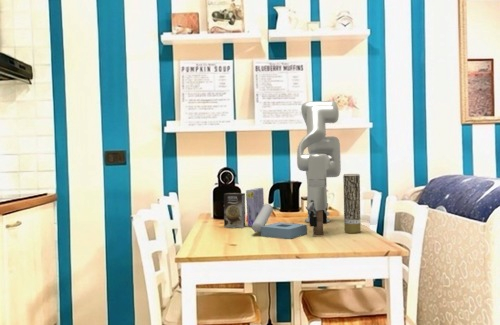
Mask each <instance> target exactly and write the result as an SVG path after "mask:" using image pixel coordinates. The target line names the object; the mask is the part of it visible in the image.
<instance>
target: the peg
mask: <svg viewBox="0 0 500 325" xmlns="http://www.w3.org/2000/svg"><path fill="white" fill-rule="evenodd" d="M313 213H314V212H313ZM316 217H317V227H313V236H324V224H323V210H320V211H317V214H316Z"/></svg>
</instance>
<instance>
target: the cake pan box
mask: <svg viewBox="0 0 500 325" xmlns="http://www.w3.org/2000/svg"><path fill="white" fill-rule="evenodd" d="M264 196H265V194H264V188H263V187H257V188H250V189H246V190H245V202H246V216H247V227H251V228H252V224H253V223H254V221H255V219H256V218H257V216H258V214H259V212H260V211H261V209H262V206H264V205H265V199H264V198H265V197H264Z"/></svg>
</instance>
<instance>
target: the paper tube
mask: <svg viewBox="0 0 500 325" xmlns="http://www.w3.org/2000/svg"><path fill="white" fill-rule="evenodd" d="M360 177H361V175H360V174H359V173H344V174H343V175H342V179H343V223H344V224H343V225H344V226H343V227H344V232H345V233H346V234H359V233H361V231H362V230H361V188H360V187H361V184H360V182H361V180H360V179H361V178H360Z"/></svg>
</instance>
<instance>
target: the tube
mask: <svg viewBox="0 0 500 325" xmlns="http://www.w3.org/2000/svg"><path fill="white" fill-rule="evenodd" d="M273 211H274V207H273V206H272V205H271V204H269V203H264V206H262V209H261V211H260V212H259V214H258V216H257V218H256V219H255V221H254V223H253V224H252V227H251V229H252V230H253V232H255V233H260V234H261V227H262V226H266V225H267V222H268V220H269V219H270V216H271V214H272V213H273Z"/></svg>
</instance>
